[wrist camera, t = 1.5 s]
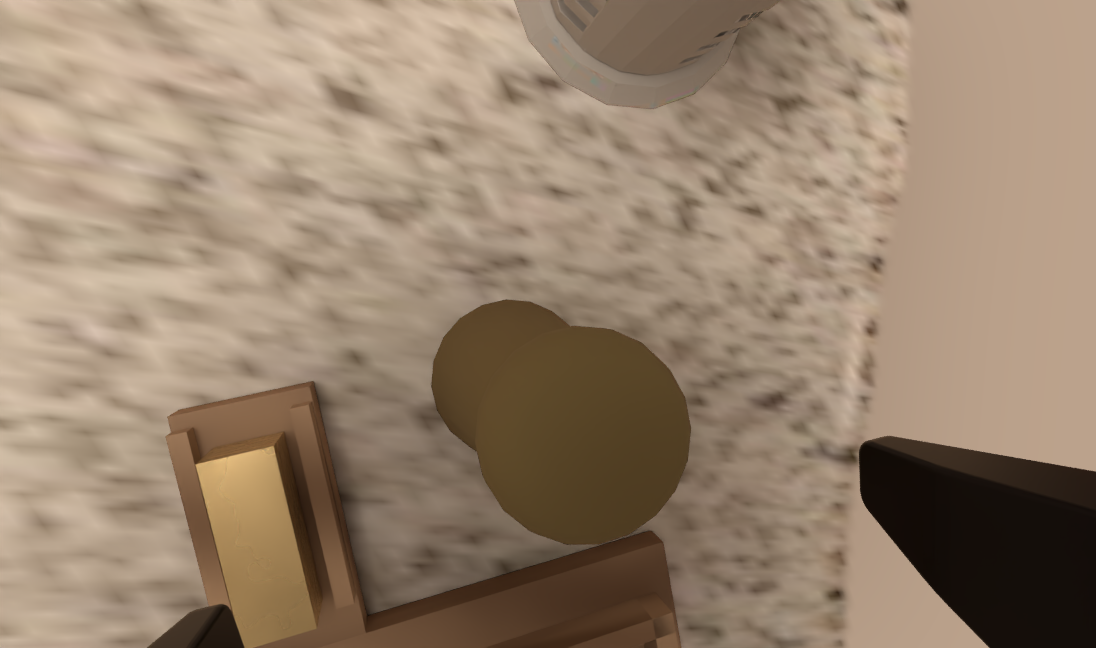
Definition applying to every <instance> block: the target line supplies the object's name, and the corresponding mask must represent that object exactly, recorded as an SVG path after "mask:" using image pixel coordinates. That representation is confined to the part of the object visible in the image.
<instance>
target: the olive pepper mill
mask: <svg viewBox="0 0 1096 648" xmlns="http://www.w3.org/2000/svg"><path fill="white" fill-rule="evenodd" d="M431 386H432V391H433V395H434V399H435V403H436V407H437V411H438V412H439V414H440V416H441V417H442V419H443V420H444V422H445V423H446V425H447V427H448V428H449V430H450V431H451V432H452V433H453V434H455V435H456V436H457V437H458V438H459V439H461V440H462V441H463V442H464V443H466V444H467V445H468V446H469V447H471V448H472V449H474V450H475V451H477V453H478V458H479V462H480V466H481V470H482V475H483V477H484V479H485V481H486V483H487V485H488V486H489V488H490V490H491V491H492V493H493V494H494V496H495V498H496V499H497V501H498V502H499V504H500V505H501V507H502V509H503V510H504V511H505V512H506V513H508V514H509V515H510V516H511V517H513V518H514V519H515V520H516V521H518V522H519V523H520V524H522V525H523V526H524V527H525V528H527V529H528V530H529V531H531V532H533V533H536V534H538V535H541V536H544V537H547V538H550V539H552V540H555V541H558V542H561V543H564V544H601V543H604V542H607V541H610V540H613V539H616V538H619V537H622V536H625V535H628V534H630V533H632V532H633V531H634V530H636V529H637V528H639V527H640V526H641V525H643V524H644V523H646V522H647V521H649V520H650V519H651V518H653V517H654V516H656V515H657V513H658V512H659V511H660V510H661V508H662V507H663V506H664V504H665V503H666V502H667V501H668V499H669V498H670V497H671V496H672V494H673V493H674V492H675V490H676V488H677V485H678V483H679V480H680V478H681V475H682V473H683V471H684V468H685V466H686V463H687V461H688V453H689V443H690V433H691V426H690V421H689V415H688V410H687V405H686V400H685V397H684V395H683V393H682V391H681V389H680V387H679V386H678V384H677V382H676V380H675V378H674V376H673V375H672V373H671V371H670V370H669V368H668V367H667V366H666V365H665V364H664V363H663V362H662V361H661V360H660V359H659V358H658V357H656V356H655V355H654V354H653V353H652V352H651V351H650V350H649V349H648V348H647V347H646V346H645V345H644V344H642V343H641V342H639V341H637V340H634V339H632V338H630V337H628V336H625V335H623V334H621V333H619V332H616V331H614V330H611V329H604V328H592V327H580V326H571V327H570V326H569V325H568V324H567V323H566V322H564V321H563V320H562V319H561V318H559V317H558V316H557V315H556V314H555V313H553V312H552V311H550V310H548V309H545V308H543V307H541V306H539V305H536V304H534V303H532V302H526V301H515V300H502V301H498V302H494V303H489V304H485V305H482V306H480V307H478V308H477V309H475V310H473V311H472V312H470V313H468V314H467V315H465V316H463V317H462V318H460V319H459V320H458V322H457V323H456V324H455V325H454V326H453V327H452V328H451V330H450V331H449V332H448V333H447V334H446V335H445V336H444V338H443V340H442V342H441V345H440V347H439V349H438V352H437V354H436V356H435V359H434V362H433V374H432V385H431Z"/></svg>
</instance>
